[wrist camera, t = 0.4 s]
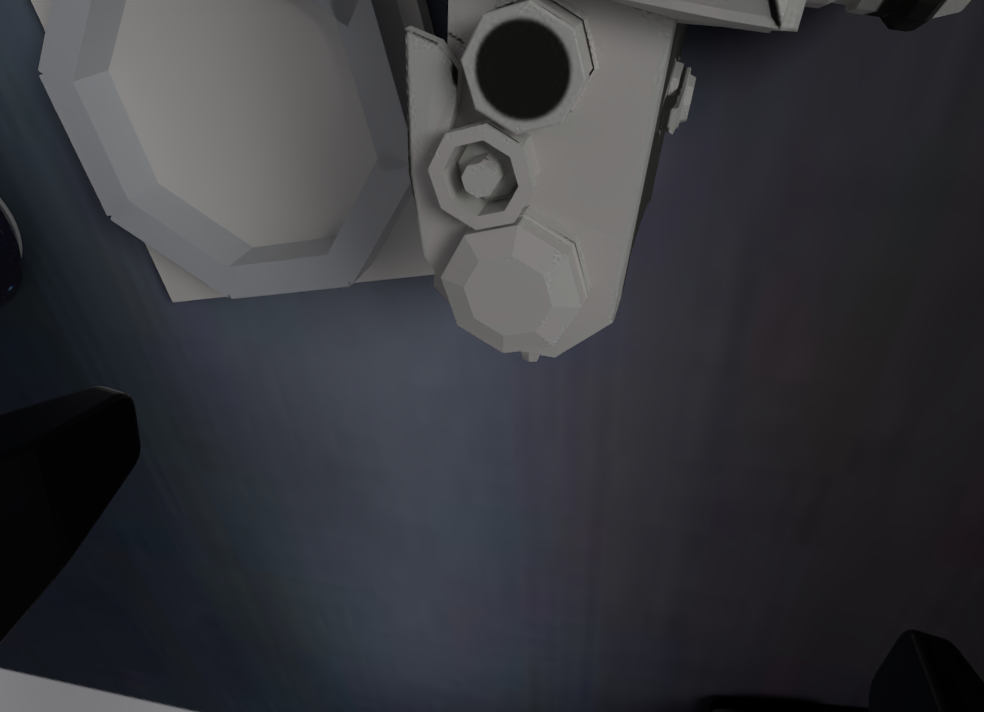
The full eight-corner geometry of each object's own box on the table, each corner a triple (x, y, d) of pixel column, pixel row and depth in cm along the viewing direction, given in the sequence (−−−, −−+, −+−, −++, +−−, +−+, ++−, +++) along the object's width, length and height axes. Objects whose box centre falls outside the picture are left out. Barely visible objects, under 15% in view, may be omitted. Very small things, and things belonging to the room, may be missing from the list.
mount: (491, 259, 22) (470, 291, 21) (183, 294, 26) (145, 322, 25) (376, -196, 17) (337, -201, 16) (15, -71, 21) (-47, -65, 20)
